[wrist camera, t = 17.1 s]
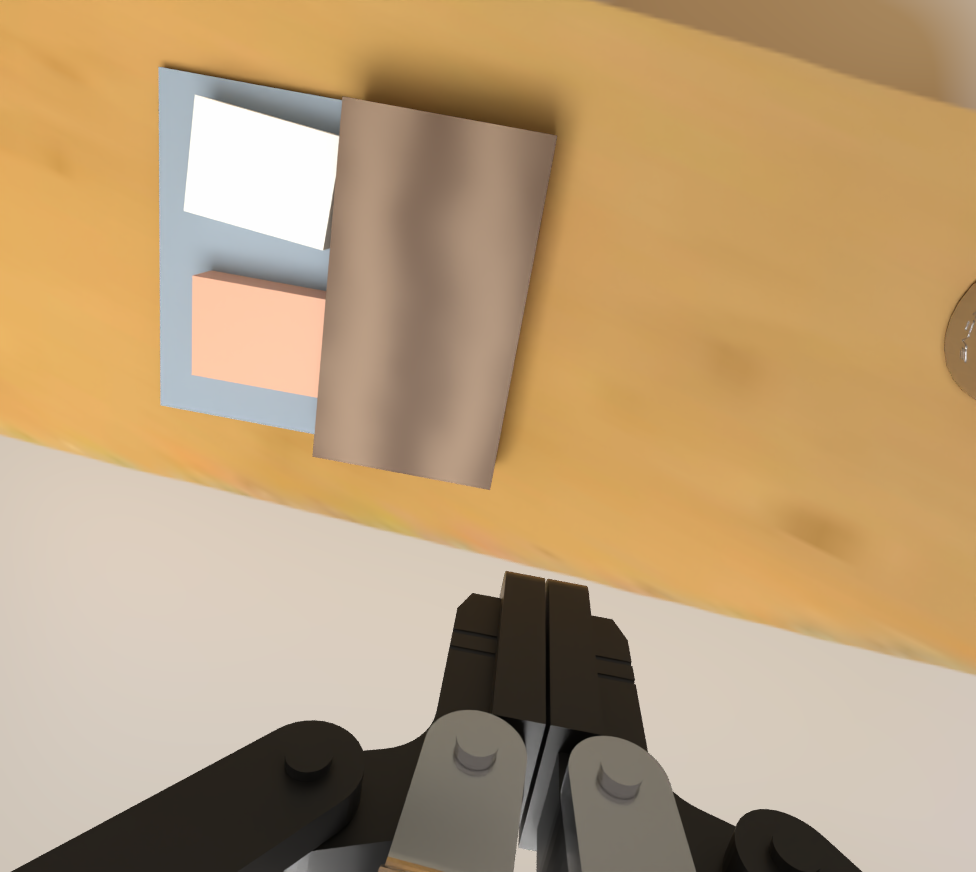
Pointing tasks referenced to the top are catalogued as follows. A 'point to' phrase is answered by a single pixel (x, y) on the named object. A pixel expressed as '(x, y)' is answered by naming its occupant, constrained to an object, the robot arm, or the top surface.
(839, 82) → the top surface
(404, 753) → the robot arm
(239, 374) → the terracotta tile
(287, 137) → the cream tile
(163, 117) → the slate mat
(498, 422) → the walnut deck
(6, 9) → the top surface
